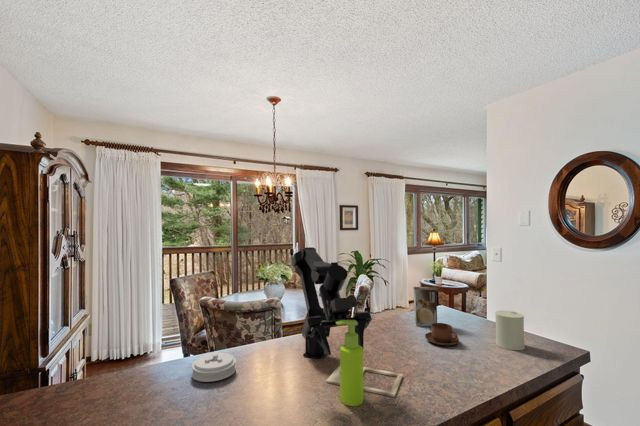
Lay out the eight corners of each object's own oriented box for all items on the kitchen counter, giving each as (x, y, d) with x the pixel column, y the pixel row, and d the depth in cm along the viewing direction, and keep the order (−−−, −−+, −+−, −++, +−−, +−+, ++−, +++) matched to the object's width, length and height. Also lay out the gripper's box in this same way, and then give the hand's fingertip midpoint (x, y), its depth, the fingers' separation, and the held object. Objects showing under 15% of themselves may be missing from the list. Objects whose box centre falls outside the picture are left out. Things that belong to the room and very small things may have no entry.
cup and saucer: (461, 340, 123) (461, 324, 123) (455, 351, 113) (455, 333, 113) (429, 334, 130) (429, 319, 130) (421, 344, 119) (421, 327, 120)
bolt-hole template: (326, 382, 91) (326, 379, 91) (341, 364, 102) (341, 361, 102) (394, 397, 83) (394, 393, 83) (402, 376, 94) (402, 373, 94)
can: (529, 346, 116) (528, 313, 117) (517, 352, 111) (516, 317, 111) (503, 339, 124) (502, 307, 124) (490, 344, 119) (490, 311, 119)
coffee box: (434, 322, 144) (434, 286, 145) (437, 327, 138) (437, 289, 139) (413, 321, 146) (413, 286, 146) (415, 326, 140) (415, 289, 140)
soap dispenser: (335, 394, 84) (334, 317, 85) (360, 393, 85) (360, 317, 86) (338, 407, 79) (337, 324, 79) (365, 405, 79) (365, 324, 80)
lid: (181, 380, 93) (181, 362, 93) (211, 362, 104) (211, 347, 105) (217, 388, 88) (217, 370, 88) (244, 369, 100) (244, 352, 100)
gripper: (306, 287, 87) (318, 342, 76) (368, 283, 93) (388, 333, 82) (299, 309, 94) (310, 362, 83) (357, 304, 100) (374, 353, 89)
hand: (346, 352), depth 84 cm, fingers open, 9 cm apart
